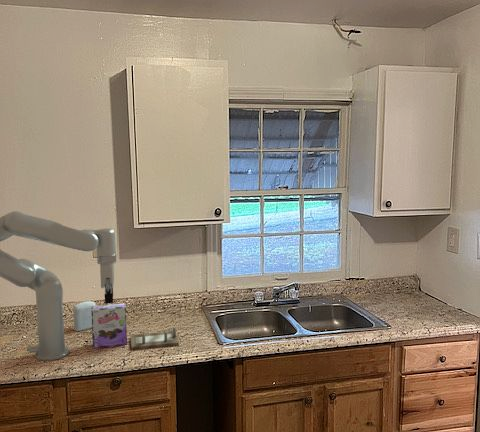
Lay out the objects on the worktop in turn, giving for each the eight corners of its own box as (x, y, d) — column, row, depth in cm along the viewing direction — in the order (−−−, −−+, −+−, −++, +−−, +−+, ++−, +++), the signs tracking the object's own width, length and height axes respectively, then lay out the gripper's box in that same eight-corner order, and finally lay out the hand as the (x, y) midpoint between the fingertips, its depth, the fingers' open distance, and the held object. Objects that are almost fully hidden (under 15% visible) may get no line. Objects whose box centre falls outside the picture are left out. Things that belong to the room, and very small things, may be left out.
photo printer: (93, 324, 228) (92, 298, 227) (98, 326, 225) (97, 300, 224) (72, 330, 221) (71, 303, 220) (77, 332, 218) (75, 305, 216)
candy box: (92, 348, 199) (90, 309, 197) (92, 343, 205) (91, 305, 203) (127, 345, 203) (125, 306, 201) (126, 340, 208) (125, 302, 206)
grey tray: (131, 350, 197) (131, 337, 196) (130, 337, 210) (130, 326, 210) (178, 345, 202) (178, 333, 201) (174, 333, 215) (174, 322, 214)
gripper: (97, 255, 207) (100, 295, 209) (96, 264, 190) (99, 306, 192) (116, 254, 209) (118, 293, 211) (116, 262, 192) (118, 304, 194)
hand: (109, 299), depth 202 cm, fingers open, 9 cm apart
